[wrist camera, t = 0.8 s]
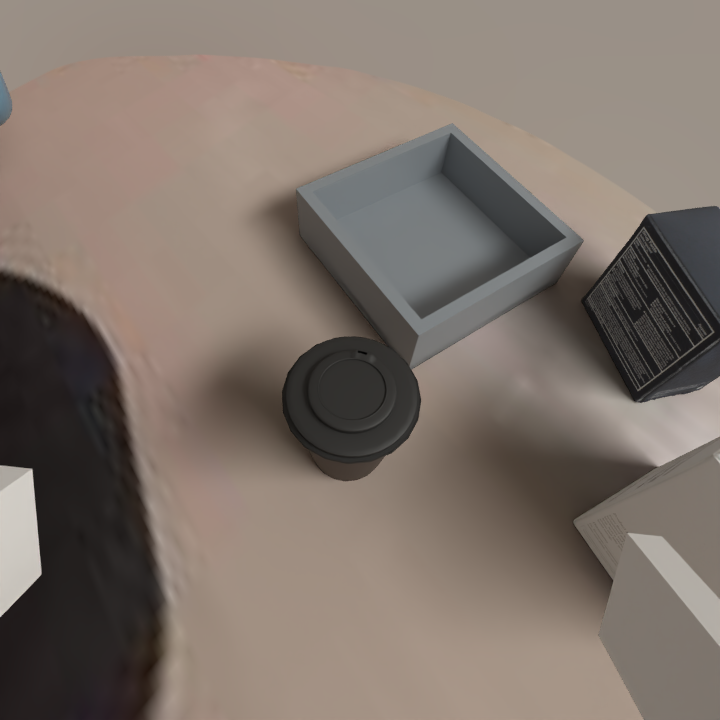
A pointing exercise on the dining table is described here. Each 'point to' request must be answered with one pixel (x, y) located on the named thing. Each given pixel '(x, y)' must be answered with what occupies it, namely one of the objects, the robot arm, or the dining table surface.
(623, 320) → the small box
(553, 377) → the dining table surface
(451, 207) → the bin
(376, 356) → the coffee cup
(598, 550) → the supplement box
